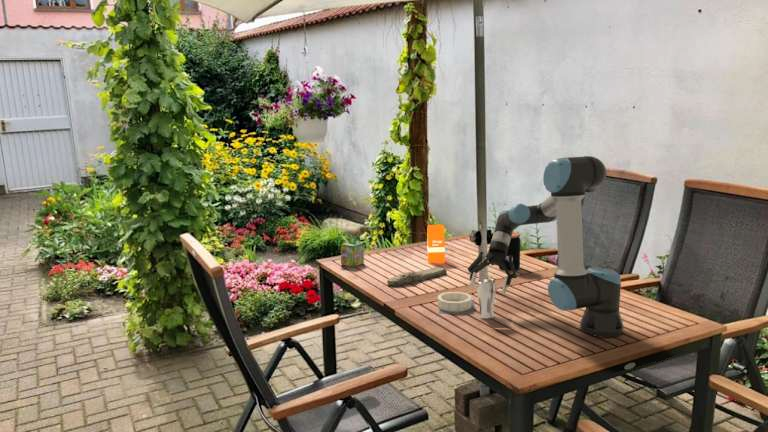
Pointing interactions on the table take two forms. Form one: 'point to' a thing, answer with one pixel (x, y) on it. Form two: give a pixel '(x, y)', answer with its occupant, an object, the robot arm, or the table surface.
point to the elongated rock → (416, 276)
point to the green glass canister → (352, 253)
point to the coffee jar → (513, 252)
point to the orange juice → (436, 244)
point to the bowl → (454, 301)
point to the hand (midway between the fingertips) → (487, 289)
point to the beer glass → (486, 297)
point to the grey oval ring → (470, 311)
